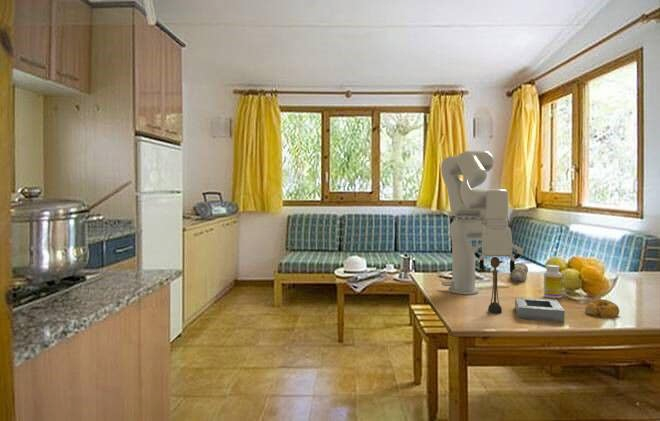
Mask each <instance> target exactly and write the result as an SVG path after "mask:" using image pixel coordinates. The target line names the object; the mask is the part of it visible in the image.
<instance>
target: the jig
mask: <svg viewBox="0 0 660 421" xmlns="http://www.w3.org/2000/svg"><path fill="white" fill-rule="evenodd" d="M514 310H515V311H516V315H517V318H518V320H526V321H541V322H555V323H565V309H564V308H563V306H562V305H561V303H560V302H559V301H558V300H557V299H551V298H531V297H520V296H519V297H517V296H516V297H514Z"/></svg>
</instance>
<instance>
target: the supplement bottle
mask: <svg viewBox="0 0 660 421" xmlns="http://www.w3.org/2000/svg"><path fill="white" fill-rule="evenodd" d="M543 296H544V297H545V298H546V299H554V300H557V299H561V298H562V296H563V274H562V273H561V271H560V265H554V264H547V265H546V271H545V272H544V273H543Z"/></svg>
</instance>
